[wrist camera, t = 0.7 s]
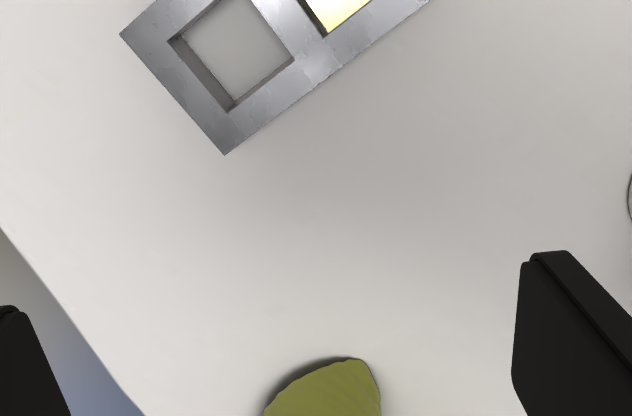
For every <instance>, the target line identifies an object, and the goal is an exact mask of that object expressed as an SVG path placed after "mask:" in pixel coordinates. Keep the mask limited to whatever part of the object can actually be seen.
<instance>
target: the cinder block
mask: <svg viewBox="0 0 632 416" xmlns="http://www.w3.org/2000/svg"><path fill="white" fill-rule="evenodd" d="M219 1H221V0H156V1H155V2H154V3H153V4H152V5H150V6H149V7H148V8H147V9H146V10H145V11H144V12H143V13H142V14H140V15H139V16H138V17H137V18H136V19H135V20H134V21H133V22H132V23H130V24H129V25H128V26H127V27H126V28H125V29H124V30H123V31H122V32H121V33H119V35H120V36H121V38H122V39H123V40H124V41H125V42H126V43H127V44H128V46H129V47H130V48H131V49H132V50H133V51H134V52H135V54H136V55H137V56H138V57H139V58H140V59H141V60H142V62H143V63H144V64H145V65H146V66H147V67H148V69H149V70H150V71H151V72H152V73H153V74H154V75H155V77H156V78H157V79H158V80H159V81H160V82H161V83H162V85H163V86H164V87H165V88H166V89H167V90H168V91H169V93H170V94H171V95H172V96H173V97H174V98H175V100H176V101H177V102H178V103H179V104H180V105H181V106H182V108H183V109H184V110H185V111H186V112H187V113H188V114H189V116H190V117H191V118H192V119H193V120H194V121H195V122H196V124H197V125H198V126H199V127H200V128H201V129H202V131H203V132H204V133H205V134H206V135H207V136H208V137H209V139H210V140H211V141H212V142H213V143H214V144H215V145H216V147H217V148H218V149H219V150H220V151H221V152H222V154H223V155H224V156H225V155H226V154H227V153H229V152H230V151H231V150H233V149H234V148H235V147H237V146H238V145H239V144H240V143H242V142H243V141H244V140H246V139H247V138H248V137H250V136H251V135H252V134H254V133H255V132H256V131H258V130H259V129H260V128H262V127H263V126H264V125H266V124H267V123H268V122H270V121H271V120H272V119H274V118H275V117H276V116H278V115H279V114H280V113H281V112H283V111H284V110H285V109H287V108H288V107H289V106H291V105H292V104H293V103H295V102H296V101H297V100H299V99H300V98H301V97H303V96H304V95H305V94H307V93H308V92H309V91H311V90H312V89H313V88H315V87H316V86H317V85H319V84H320V83H321V82H322V81H324V80H325V79H326V78H328V77H329V76H330V75H332V74H333V73H334V72H336V71H337V70H338V69H340V68H341V67H342V66H344V65H345V64H346V63H348V62H349V61H350V60H352V59H353V58H354V57H356V56H357V55H358V54H360V53H361V52H362V51H363V50H365V49H366V48H367V47H369V46H370V45H371V44H373V43H374V42H375V41H377V40H378V39H379V38H381V37H382V36H383V35H385V34H386V33H387V32H389V31H390V30H391V29H393V28H394V27H395V26H397V25H398V24H399V23H401V22H402V21H403V20H404V19H406V18H407V17H408V16H410V15H411V14H412V13H414V12H415V11H416V10H418V9H419V8H420V7H422V6H423V5H424V4H426V3H427V2H428V1H430V0H370V1H368V2H367V3H366V4H365V5H363V6H362V7H361V8H359V9H358V10H357V11H356V12H354V13H353V14H352V15H351V16H349V17H348V18H347V19H345V20H344V21H343V22H342V23H340V24H339V25H338V26H336V27H335V28H334V29H333V30H331V31H330V32H329V33H328V31H327V30H326V31H324V32H323V33H322V32H321V30H320V29H319V27H318V26H317V25H316V23H315V22H314V20H313V19H312V17H311V16H310V15H309V13H308V12H307V10H306V9H305V8H304V6H303V5H302V3H301V2H300V0H251V1H252V2H253V4H254V5H255V6H256V8H257V9H258V10H259V12H260V13H261V14H262V16H263V17H264V18H265V20H266V21H267V22H268V24H269V25H270V26H271V28H272V29H273V31H274V32H275V33H276V35H277V36H278V37H279V39H280V40H281V41H282V43H283V44H284V45H285V47H286V48H287V49H288V51H289V52H290V53H291V55H292V56H293V57H291V58H290V59H289V60H288V61H286V62H285V63H284V64H283V65H281V66H280V67H279V68H277V69H276V70H275V71H274V72H272V73H271V74H270V75H269V76H267V77H266V78H265V79H263V80H262V81H261V82H260V83H258V84H257V85H256V86H255V87H253V88H252V89H251V90H249V91H248V92H247V93H246V94H244V95H243V96H242V97H241V98H239V99H238V100H237V101H235V102H234V100H233V99H232V98H231V97H230V95H229V94H228V93H227V92H226V91H225V89H224V88H223V87H222V86H221V84H220V83H219V82H218V81H217V80H216V78H215V77H214V76H213V75H212V74H211V72H210V71H209V70H208V69H207V67H206V66H205V65H204V64H203V63H202V61H201V60H200V59H199V58H198V56H197V55H196V54H195V53H194V52H193V50H192V49H191V48H190V47H189V46H188V44H187V43H186V42H185V41H184V39H183V38H182V37H181V36H180V35H181V34H182V33H183V32H185V31H186V30H187V29H188V28H189V27H190V26H192V25H193V24H194V23H195V22H196V21H197V20H199V19H200V18H201V17H202V16H203V15H204V14H205V13H207V12H208V11H209V10H210V9H211V8H212V7H214V6H215V5H216V4H217V3H218V2H219Z"/></svg>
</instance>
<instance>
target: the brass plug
mask: <svg viewBox="0 0 632 416" xmlns="http://www.w3.org/2000/svg"><path fill="white" fill-rule="evenodd" d="M306 1H307V3H308V4H309V6H310V7H311V8H312V10H313V11H314V13H315V14H316V16H317V17H318V18H319V20H320V21H321V23H322V24H323V26H324V27H325V29H326V30H327V31H328V33H329V32H330V31H331V30H333V29H334V28H335V27H336V26H338V25H339V24H340V23H342V22H343V21H344V20H345V19H347V18H348V17H349V16H351V15H352V14H353V13H354V12H356V11H357V10H358V9H359V8H361V7H362V6H363V5H365V4H366V3H367V2H368V1H370V0H306Z"/></svg>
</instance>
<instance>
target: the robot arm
mask: <svg viewBox="0 0 632 416" xmlns="http://www.w3.org/2000/svg"><path fill="white" fill-rule="evenodd" d="M628 204H629V209H630V215H631V218H632V182H631V185H630V189H629V203H628ZM511 377H512V383H513V386H514V389H515V391H516V394H517V396H518V398H519V400H520V401H521V403H522V405H523V407H524V409H525V411H526V413H527V415H528V416H632V317H631V316H630V315H629V314H628V313H627V312H626V311H625V310H624V309H623V308H622V307H621V306H620V305H619V304H618V303H617V301H616V300H615V299H614V298H613V297H612V296H611V295H610V294H609V293H608V292H607V291H606V290H605V289H604V288H603V287H602V286H601V285H600V284H599V283H598V282H597V281H596V280H595V278H594V277H593V276H592V275H591V274H590V273H589V272H588V271H587V270H586V269H585V268H584V267H583V266H582V265H581V264H580V263H579V262H578V261H577V260H576V259H575V258H574V257H573V256H572V254H571V253H569V252H568V251H566V250H560V251H550V252H540V253H534V254H532V255H531V257H530V260H529V261H528V262H523V263H522V265H521V269H520V279H519V290H518V301H517V312H516V323H515V334H514V345H513V356H512V367H511ZM0 416H71V414H70V411H69V409H68V406H67V404H66V402H65V399H64V397H63V395H62V393H61V390H60V388H59V386H58V383H57V381H56V379H55V377H54V374H53V372H52V370H51V367H50V365H49V363H48V361H47V358H46V356H45V354H44V351H43V350H42V347H41V345H40V342H39V340H38V338H37V335H36V333H35V331H34V328H33V326H32V324H31V322H30V320H29V317H28V316H27V314H25V313H24V312H20V311H19V309H18V308H16V307H15V306H12V305H5V306H0Z"/></svg>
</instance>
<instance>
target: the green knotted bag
mask: <svg viewBox="0 0 632 416" xmlns="http://www.w3.org/2000/svg"><path fill="white" fill-rule="evenodd" d="M262 416H382V415H381V406H380V392H379V388H378V387H376V385H375V382H374V379H373V377H372V375H371V372H370V370H369V368H368V367H367V365H366V364H365V363H364V362H363V361H361V360H352V359H348V360H346V361H345V362H335V363H333V364H331V365H329V366H326V367H322V368H319V369H317V370H316V371H313V372H311V373H308V374H306V375H305V376H303V377H302V378H300V379H297V380H295V381H293V382H292V383H290V384H289V385H288V386H287V387H286V388H285V389H284V390H283V391H281V392H279V393H278V394H277V396H276V398H275V399H274V400H273V401H272V402H271V404H269V405H268V406H267V407H266V408H265V409H264V412H263V415H262Z"/></svg>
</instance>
